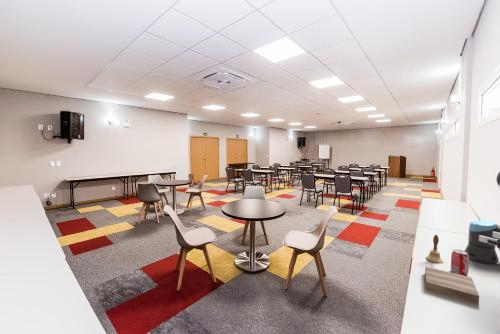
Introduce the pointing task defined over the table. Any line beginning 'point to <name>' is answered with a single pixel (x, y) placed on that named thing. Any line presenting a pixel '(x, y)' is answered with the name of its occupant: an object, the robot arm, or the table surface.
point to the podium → (451, 285)
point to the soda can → (460, 262)
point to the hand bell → (435, 252)
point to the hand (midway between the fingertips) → (486, 236)
